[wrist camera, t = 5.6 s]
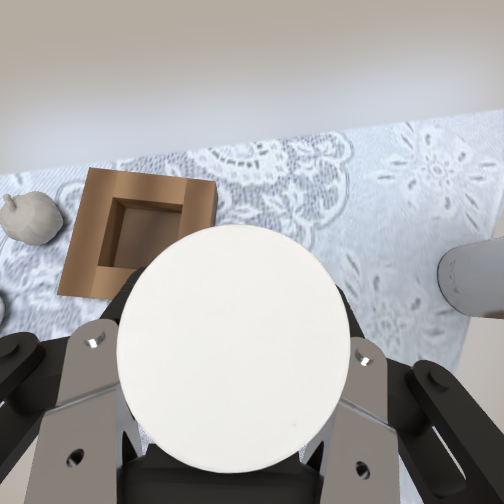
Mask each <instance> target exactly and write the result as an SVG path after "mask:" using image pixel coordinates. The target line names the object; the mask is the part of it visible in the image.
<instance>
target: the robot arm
mask: <svg viewBox="0 0 504 504" xmlns="http://www.w3.org/2000/svg"><path fill="white" fill-rule="evenodd" d="M155 258H156V257H154V258H153V260H154V259H155ZM153 260H152V261H153ZM152 261H151V263H152ZM151 263H150V264H151ZM150 264H149V265H150ZM146 268H147V267H141V268H139V269H138V270H136V271H135V272H133V273H132V274H131V275H130V277H129V278H128V279H127V281H126V283H125V284H124V285H123V286H122V288H121V289H120V291H119V292H118V293H117V295H116V296H115V297H114V299H113V300H112V301H111V303H110V304H109V306H108V307H107V308H106V310H105V311H104V312H103V314H102V315H101V317H100V318H99V319H98V320H94V321H91V322H88V323H86V324H84V325H82V326H81V327H79V328H78V329H77V330H76V331H75V332H74V333H73V334H72V335H71V336H68V337H63V338H58V339H53V340H47V341H42V342H40V341H39V339H38V338H37V336H36V335H35V334H33V333H30V332H18V333H14V334H10V335H7V336H4V337H2V338H0V404H1V402H2V401H4V402H5V403H4V404H3V405H2V406H1V407H0V484H1V483H2V481H3V480H4V479H5V478H6V476H7V475H8V474H9V472H10V471H11V470H12V468H13V467H14V466H15V464H16V463H17V462H18V460H19V459H20V458H21V456H22V455H23V454H24V453H25V451H26V450H27V449H28V447H29V446H30V445H31V443H32V442H33V441H34V439H35V438H36V437H37V435H38V434H39V435H38V440H37V445H36V450H35V454H34V459H33V463H32V468H31V473H30V477H29V482H28V487H27V491H26V496H25V501H24V504H400V492H399V461H398V453H399V455H400V457H401V459H402V461H403V463H404V465H405V467H406V469H407V471H408V473H409V475H410V477H411V479H412V481H413V483H414V485H415V487H416V489H417V491H418V493H419V495H420V496H421V498H422V500H423V502H424V504H504V434H503V433H502V432H501V431H500V430H499V429H498V427H497V426H496V425H495V424H494V423H493V421H492V420H491V419H490V418H489V417H488V416H487V414H486V413H485V412H484V411H483V410H482V408H481V407H480V406H479V405H478V404H477V402H476V401H475V400H474V399H473V398H472V396H471V395H470V394H469V393H468V392H467V391H466V389H465V388H464V387H463V386H462V385H461V383H460V382H459V381H458V380H457V379H456V378H455V377H454V376H453V375H452V374H451V373H450V372H449V371H448V370H446V369H445V368H444V367H442V366H440V365H438V364H436V363H434V362H431V361H428V360H419V361H417V362H416V363H415V364H414V365H413V366H412V367H411V366H408V365H405V364H402V363H399V362H397V361H394V360H391V359H389V358H386V357H385V355H384V354H383V352H382V351H381V350H380V348H379V347H377V346H376V345H375V344H374V343H372V342H371V341H369V340H367V339H365V337H364V335H363V333H362V331H361V328H360V326H359V324H358V322H357V320H356V318H355V316H354V314H353V312H352V310H351V309H350V308H351V307H350V305H349V303H348V302H347V299H346V297H345V295H344V293H343V291H342V290H341V289H340V288H339V287H338V286H337V285H336V284H335V285H336V287H337V289H338V291H339V293H340V295H341V298H342V300H343V303H344V306H345V309H346V313H347V318H348V323H349V330H350V359H349V367H348V373H347V377H346V381H345V385H344V388H343V390H342V393H341V396H340V398H339V401H338V403H337V405H336V407H335V409H334V410H333V412H332V414H331V416H330V417H329V418H328V420H327V421H326V423H325V424H324V426H323V427H322V428H321V430H320V431H319V432H318V433H317V434H316V435H315V436H314V437H313V438H312V439H311V440H310V441H309V442H308V444H307V446H306V449H305V453H304V456H303V460H302V462H300V460H299V452H298V451H297V452H295V453H294V454H292V455H291V456H290V457H288V458H286V459H284V460H282V461H280V462H278V463H276V464H274V465H271V466H269V467H266V468H263V469H259V470H255V471H250V472H241V473H217V472H212V471H207V470H202V469H199V468H196V467H193V466H190V465H187V464H185V463H183V462H181V461H179V460H177V459H176V458H174V457H173V456H171V455H169V454H168V453H166V452H165V451H164V450H162V449H161V448H160V447H159V446H158V445H157V444H149V445H148V448H147V451H146V455H142V446H141V439H140V434H139V429H138V422H137V420H136V419H135V417H134V416H133V414H132V413H131V410H130V408H129V406H128V404H127V402H126V400H125V397H124V393H123V390H122V387H121V383H120V380H119V374H118V366H117V354H116V351H117V337H118V330H119V324H120V320H121V316H122V312H123V310H124V307H125V304H126V301H127V299H128V297H129V295H130V293H131V291H132V289H133V287H134V285H135V284H136V282H137V280H138V279H139V277H140V276H141V274H142V273H143V272H144V271H145V269H146ZM438 279H439V285H440V288H441V290H442V293H443V294H444V296H445V298H446V299H447V300H448V302H449V303H450V304H451V305H452V306H453V307H454V308H456V309H457V310H458V311H460V312H462V313H464V314H466V315H469V316H472V317H484V318H497V319H504V237H500V238H495V239H491V240H486V241H482V242H478V243H473V244H469V245H465V246H460V247H457V248H454V249H452V250H450V251H449V252H447V253H446V254H445V256H444V257H443V258H442V260H441V262H440V265H439V269H438ZM433 426H434V427H435V428H436V430H437V431H438V433H439V434H440V436H441V437H442V439H443V440H444V442H445V443H446V445H447V446H448V448H449V449H450V451H451V453H452V454H453V456H454V457H455V459H456V460H457V462H458V463H459V465H460V466H461V468H462V470H463V472H464V474H465V477H466V480H465V478H464V476H463V475H462V473H461V472H460V470H459V469H458V467H457V466H456V464H455V463H454V461H453V459H452V458H451V456H450V455H449V453H448V452H447V450H446V449H445V447H444V445H443V444H442V442H441V441H440V439H439V438H438V436H437V435H436V433H435V431H434V430H433V428H432V427H433Z"/></svg>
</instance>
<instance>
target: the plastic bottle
mask: <svg viewBox="0 0 504 504" xmlns="http://www.w3.org/2000/svg"><path fill="white" fill-rule="evenodd" d="M4 313H5V306H4V302H3V300H2V298H1V297H0V324H1V322H2V320H3V317H4Z"/></svg>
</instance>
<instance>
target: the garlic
mask: <svg viewBox="0 0 504 504" xmlns="http://www.w3.org/2000/svg"><path fill="white" fill-rule="evenodd" d="M3 197H4V201H5V202H6V203H5V204H4V206H3V207H2V208H1V210H0V224H1V226H2V228H3V229H4V232H5V233H6V235H7V236H8V237H10V238H11V239H14V240H18V241H23V242H25V243H27V244H29V245H41V244H44V243H46V242H48V241H49V240H51V239H52V238H53V237H54V236H55V235H56V233H57V232H58V230H60V229H61V227H62V226H63V218H62V216H61V214H60V212H59V210H58V208H57V207H56V206H55V204H54V202H53V200H52V199H51V198H50V197H49V196H48V195H46V194H44V193H42V192H37V191H34V192H29V193H27V194H25V195H22V196H20V195H17V196H14V197H13V198H12V199H11V196H10V195H9V194H5V195H4V196H3Z"/></svg>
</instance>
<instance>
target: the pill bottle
mask: <svg viewBox="0 0 504 504" xmlns="http://www.w3.org/2000/svg"><path fill="white" fill-rule="evenodd" d="M116 354H117V366H118V374H119V380H120V383H121V387H122V390H123V393H124V397H125V400H126V402H127V404H128V406H129V408H130V410H131V413H132V414H133V416H134V417H135V419H136V420H137V422H138V423H139V425H140V426H141V428H142V429H143V430H144V432H145V433H146V434H147V435H148V436H149V437H150V438H151V439H152V440H153V441H154V442H155V443H156V444H157V445H158V446H159V447H160V448H161V449H162V450H164V451H165V452H166V453H168V454H169V455H171V456H173V457H174V458H176V459H177V460H179V461H181V462H183V463H185V464H187V465H190V466H193V467H196V468H199V469H202V470H207V471H212V472H217V473H241V472H250V471H255V470H259V469H263V468H266V467H269V466H271V465H274V464H276V463H278V462H280V461H282V460H284V459H286V458H288V457H290V456H291V455H292V454H294V453H295V452H297V451H298V450H300V449H301V448H303V447H304V446H305V445H306V444H307V443H308V442H309V441H310V440H311V439H312V438H313V437H314V436H315V435H316V434H317V433H318V432H319V431H320V430H321V428H322V427H323V426H324V424H325V423H326V421H327V420H328V418H329V417H330V416H331V414H332V412H333V410H334V409H335V407H336V405H337V403H338V401H339V398H340V396H341V393H342V390H343V388H344V385H345V381H346V377H347V373H348V367H349V359H350V330H349V323H348V318H347V313H346V309H345V306H344V303H343V300H342V298H341V295H340V293H339V291H338V289H337V287H336V285H335V283H334V281H333V279H332V278H331V276H330V275H329V273H328V272H327V270H326V269H325V268H324V266H323V265H322V264H321V263H320V262H319V261H318V260H317V259H316V258H315V257H314V256H313V255H312V254H311V253H310V252H309V251H308V250H307V249H305V248H304V247H303V246H302V245H300V244H299V243H297V242H296V241H294V240H292V239H291V238H289V237H287V236H285V235H283V234H281V233H278V232H275V231H273V230H270V229H266V228H263V227H259V226H252V225H242V224H230V225H221V226H215V227H211V228H207V229H203V230H200V231H198V232H195V233H193V234H190V235H188V236H186V237H184V238H182V239H181V240H179V241H177V242H175V243H174V244H172V245H171V246H169V247H168V248H167V249H165V250H164V251H163V252H162V253H161V254H160V255H158V256H157V257H156V258H155V259H154V260H153V261H152V263H151V264H150V265H149V266H148V267H147V268H146V269H145V271H144V272H143V273H142V274H141V276H140V277H139V279H138V280H137V282H136V284H135V285H134V287H133V289H132V291H131V293H130V295H129V297H128V299H127V301H126V304H125V307H124V310H123V312H122V316H121V320H120V324H119V330H118V337H117V351H116Z"/></svg>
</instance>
